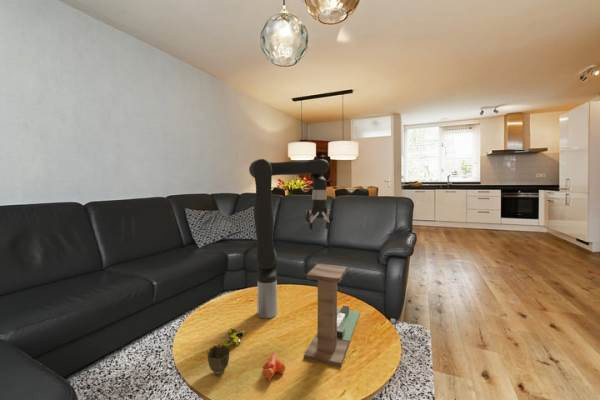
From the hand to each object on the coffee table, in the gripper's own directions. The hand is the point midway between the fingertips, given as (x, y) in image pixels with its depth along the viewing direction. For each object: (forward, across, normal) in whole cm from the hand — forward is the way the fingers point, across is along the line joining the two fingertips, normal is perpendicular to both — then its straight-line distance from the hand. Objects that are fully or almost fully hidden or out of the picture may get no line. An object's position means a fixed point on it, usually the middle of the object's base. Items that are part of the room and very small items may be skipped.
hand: (318, 229), depth 149 cm
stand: (+40, -10, -41) cm, 58 cm away
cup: (+40, -50, -43) cm, 77 cm away
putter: (+39, +3, -24) cm, 46 cm away
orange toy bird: (+40, -32, -47) cm, 70 cm away
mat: (+40, +3, -23) cm, 46 cm away
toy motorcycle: (+41, -44, -25) cm, 65 cm away
